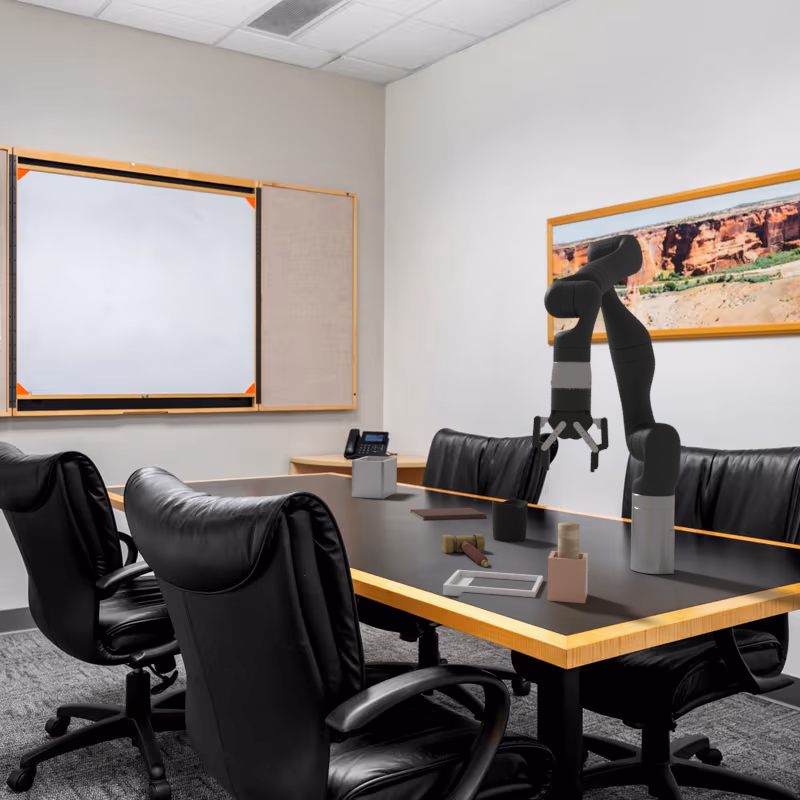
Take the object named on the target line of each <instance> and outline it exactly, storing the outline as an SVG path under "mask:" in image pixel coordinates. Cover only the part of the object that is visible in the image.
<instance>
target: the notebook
mask: <svg viewBox="0 0 800 800" xmlns="http://www.w3.org/2000/svg"><path fill="white" fill-rule="evenodd" d="M409 513H410V514H412V515H414V516H416V517H417V518H419V519H421V520H423V521H445V520H446V521H447V520H449V521H450V520H451V521H452V520H474V519H475V520H477V519H478V520H479V519H486V518H487V515H486V513H485V512H482V511H479V510H476V509H474V508H471V507H455V508H454V507H453V508H452V507H450V508H448V507H447V508H421V509H420V508H417V509H415V508H413V509H410V512H409Z"/></svg>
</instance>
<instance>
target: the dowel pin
mask: <svg viewBox="0 0 800 800" xmlns="http://www.w3.org/2000/svg"><path fill="white" fill-rule="evenodd" d="M557 527H558V528H557V533H558V534H557V551H558V558H570V559H579V553H580V523H576V522H559V523H558V525H557Z"/></svg>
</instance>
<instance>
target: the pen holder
mask: <svg viewBox="0 0 800 800" xmlns="http://www.w3.org/2000/svg"><path fill="white" fill-rule="evenodd" d="M528 504H529V502H528V501H526V500H522V499H506V500H505V501H502V502H497V501H495V500H492V501H491V508H492V509H491V513H492V514H491V515H492V517H491V519H492V538H493V539H494V540H495V541H499V542H505V543H518V542H519V543H520V542H524V541H525V540H526V538H527V527H528V509H529V508H528V506H529V505H528Z"/></svg>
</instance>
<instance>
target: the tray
mask: <svg viewBox="0 0 800 800" xmlns="http://www.w3.org/2000/svg"><path fill="white" fill-rule="evenodd" d="M475 578H484V579H485V578H487V579H500V580H512V581H513V580H515V581H527V582H534V585H533V586H532V589H531V590H530V589H529V590H527V589H516V588H515V589H514V588H504V587H490V586H476V585H470V584H471V583H472V581H474V579H475ZM543 582H544V576H543V575H537V574H534V575H533V574H525V573H524V574H522V573H521V574H520V573H510V572H507V573H506V572H496V571H495V572H494V571H482V570H481V571H480V570H464V569H456V570H455V572H454V573H453V574H452V575H451V576H450V577H449V578H448V579H447V580H446V581H445V582H444V583H443V585H442V595H443V596H451V597H452V596H453V597H460V596H461V595H462V594H463V593H464V592H465V593H475V594H476V593H477V594H489V595H501V596H513V597H514V596H515V597H523V598H524V597H527V598H536V596H537V595H538V592H539V590H540V588H541V585H542V584H543Z"/></svg>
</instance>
